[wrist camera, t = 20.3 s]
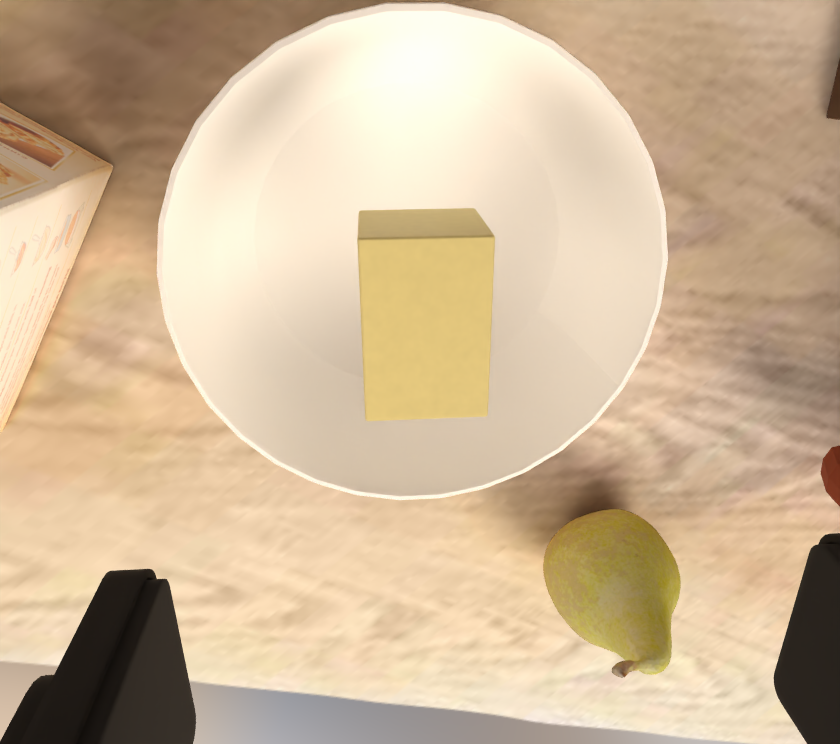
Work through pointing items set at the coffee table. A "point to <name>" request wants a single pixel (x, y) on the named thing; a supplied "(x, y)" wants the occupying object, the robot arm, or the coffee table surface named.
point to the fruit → (615, 587)
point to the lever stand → (835, 98)
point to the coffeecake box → (38, 235)
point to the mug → (832, 473)
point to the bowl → (396, 190)
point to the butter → (425, 312)
